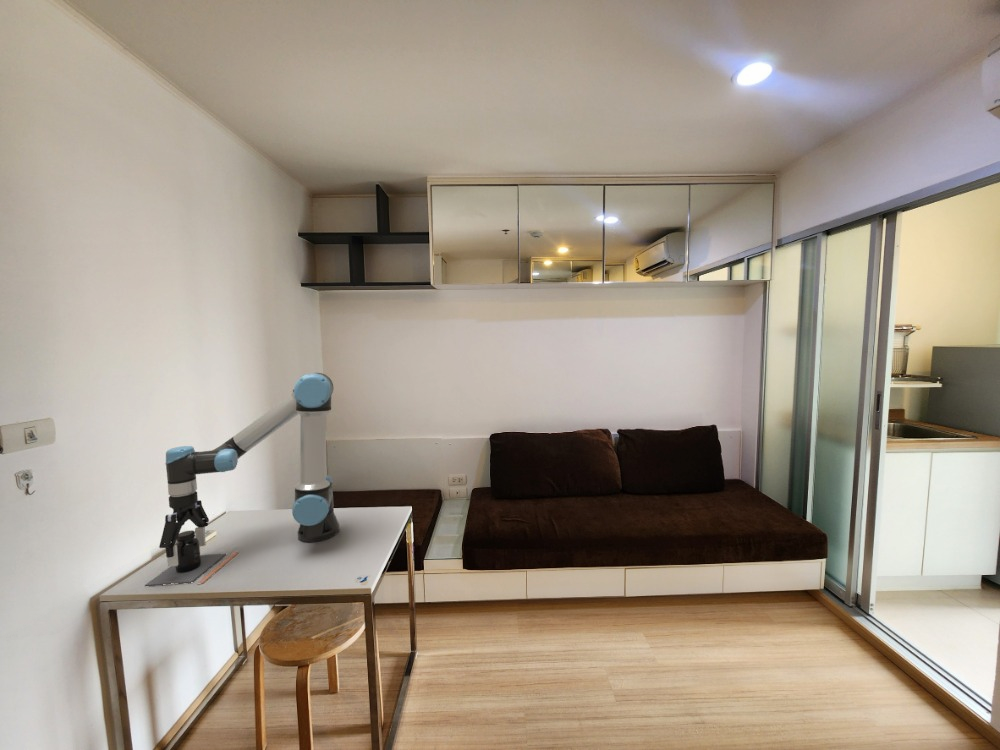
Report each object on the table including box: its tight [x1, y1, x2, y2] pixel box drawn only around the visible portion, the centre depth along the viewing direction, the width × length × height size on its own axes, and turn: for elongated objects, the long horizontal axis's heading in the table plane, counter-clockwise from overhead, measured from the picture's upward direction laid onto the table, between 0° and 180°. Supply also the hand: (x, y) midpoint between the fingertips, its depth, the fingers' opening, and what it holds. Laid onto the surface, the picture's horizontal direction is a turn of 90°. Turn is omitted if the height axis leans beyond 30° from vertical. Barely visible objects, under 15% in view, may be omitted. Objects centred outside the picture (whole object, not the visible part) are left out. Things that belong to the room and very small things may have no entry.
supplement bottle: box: [175, 530, 201, 573], centre depth 134 cm, size 7×7×12 cm
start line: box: [197, 551, 239, 584], centre depth 136 cm, size 2×20×1 cm, turn 5°
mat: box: [144, 553, 227, 587], centre depth 135 cm, size 14×18×1 cm
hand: (187, 555), depth 135 cm, fingers open, 13 cm apart
